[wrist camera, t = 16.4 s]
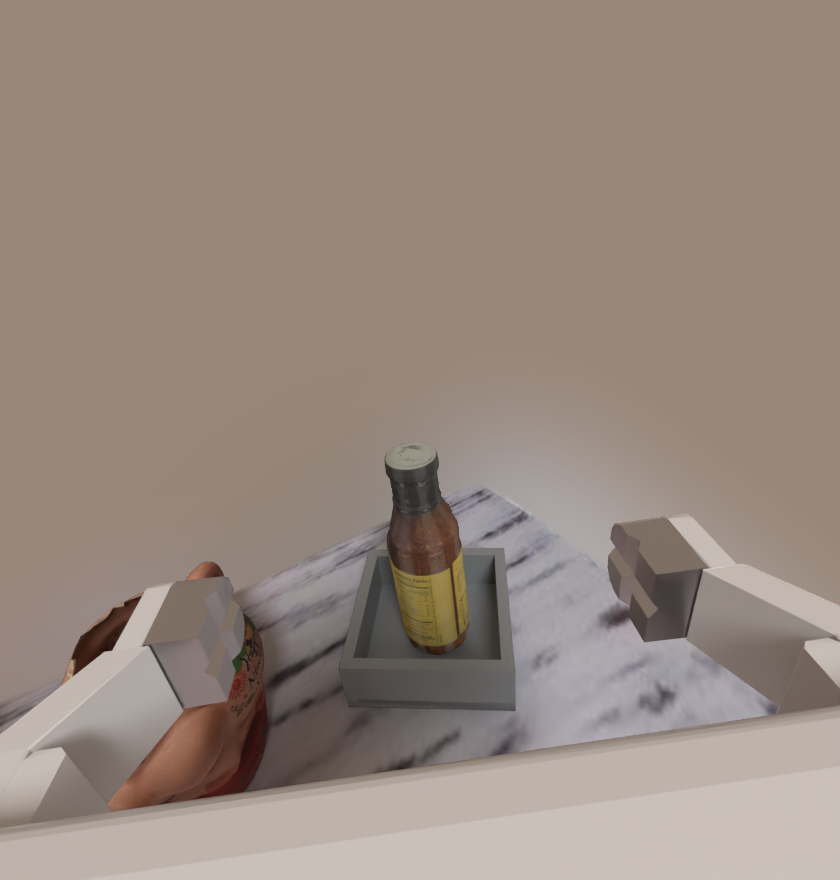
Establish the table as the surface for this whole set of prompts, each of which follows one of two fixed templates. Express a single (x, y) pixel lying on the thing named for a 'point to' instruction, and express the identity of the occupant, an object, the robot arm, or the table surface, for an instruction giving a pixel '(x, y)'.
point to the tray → (419, 673)
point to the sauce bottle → (425, 552)
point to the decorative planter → (192, 722)
